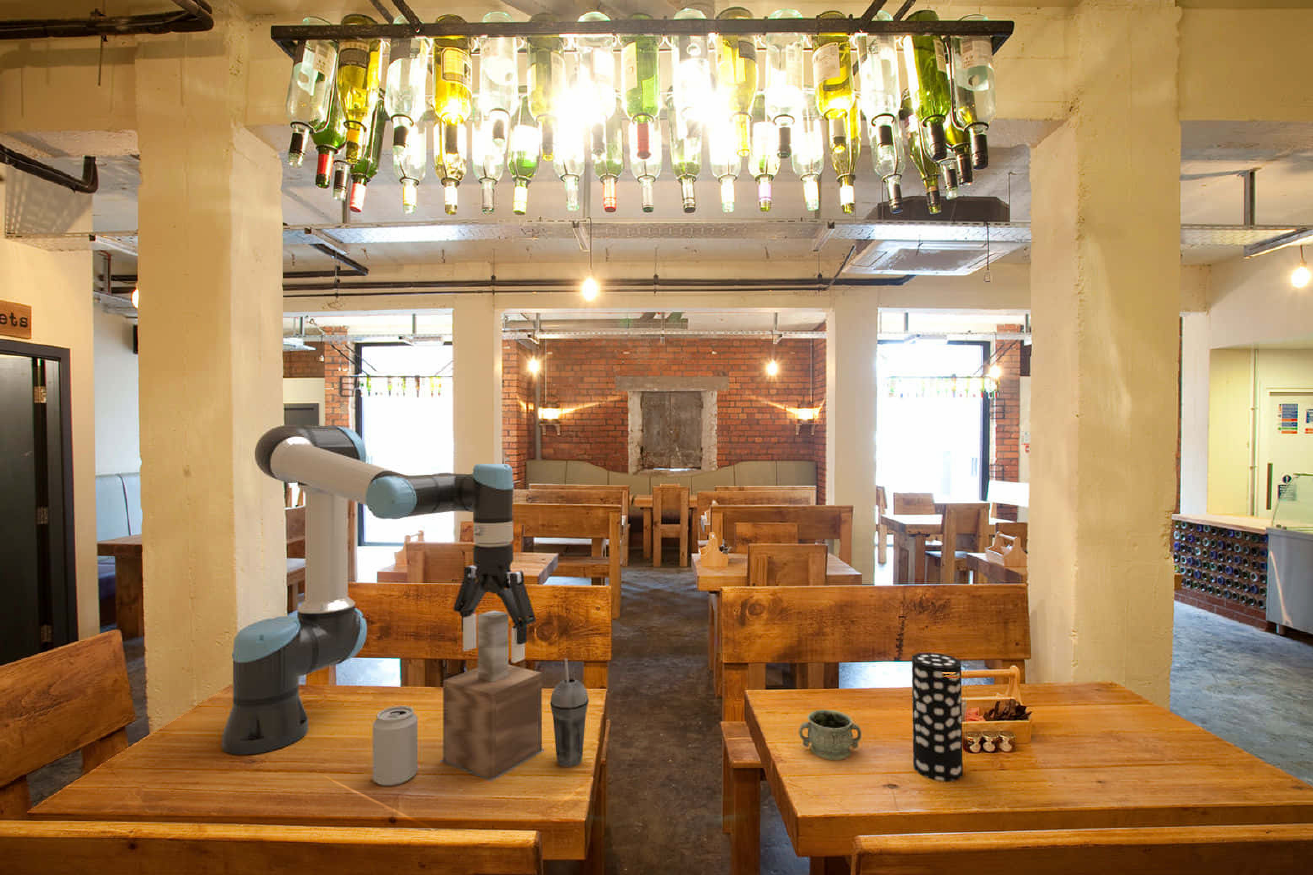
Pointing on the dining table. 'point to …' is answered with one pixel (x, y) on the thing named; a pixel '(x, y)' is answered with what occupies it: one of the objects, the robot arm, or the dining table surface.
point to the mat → (496, 776)
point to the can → (394, 746)
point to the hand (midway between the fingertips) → (493, 654)
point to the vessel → (830, 734)
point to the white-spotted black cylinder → (937, 716)
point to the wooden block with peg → (492, 707)
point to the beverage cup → (569, 719)
